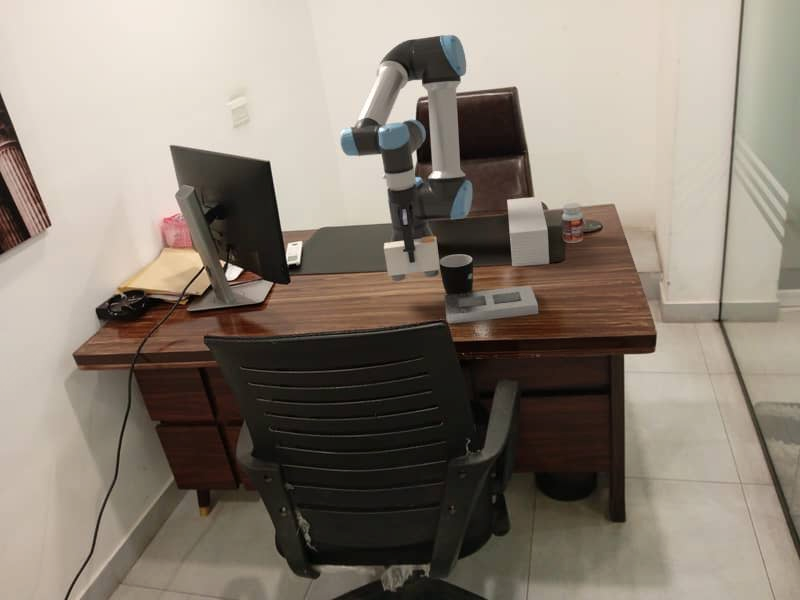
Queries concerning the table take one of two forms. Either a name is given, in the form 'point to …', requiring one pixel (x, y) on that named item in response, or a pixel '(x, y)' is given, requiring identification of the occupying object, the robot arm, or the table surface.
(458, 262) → the mug
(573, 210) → the pill bottle
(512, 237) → the stack of papers
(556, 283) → the table surface
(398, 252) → the white block
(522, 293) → the rail
